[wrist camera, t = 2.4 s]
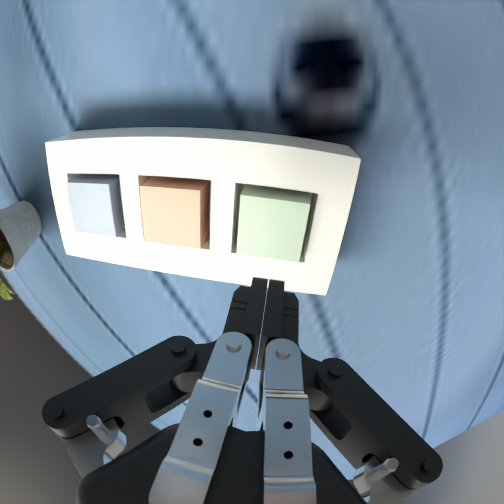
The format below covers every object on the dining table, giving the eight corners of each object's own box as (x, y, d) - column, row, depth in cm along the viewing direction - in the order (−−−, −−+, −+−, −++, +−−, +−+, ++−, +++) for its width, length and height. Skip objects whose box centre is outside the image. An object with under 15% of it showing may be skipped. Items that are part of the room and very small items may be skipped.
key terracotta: (156, 226, 23) (144, 241, 21) (153, 175, 20) (139, 185, 18) (208, 232, 22) (200, 248, 20) (209, 179, 20) (200, 190, 18)
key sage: (241, 237, 22) (236, 253, 20) (245, 182, 20) (240, 195, 18) (298, 244, 22) (299, 262, 20) (308, 191, 20) (310, 204, 18)
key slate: (89, 218, 23) (75, 231, 21) (82, 172, 21) (65, 182, 19) (129, 223, 23) (115, 237, 21) (124, 173, 20) (108, 184, 18)
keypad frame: (88, 233, 27) (66, 254, 24) (74, 131, 21) (45, 142, 18) (321, 265, 26) (325, 295, 22) (348, 145, 20) (361, 158, 16)
